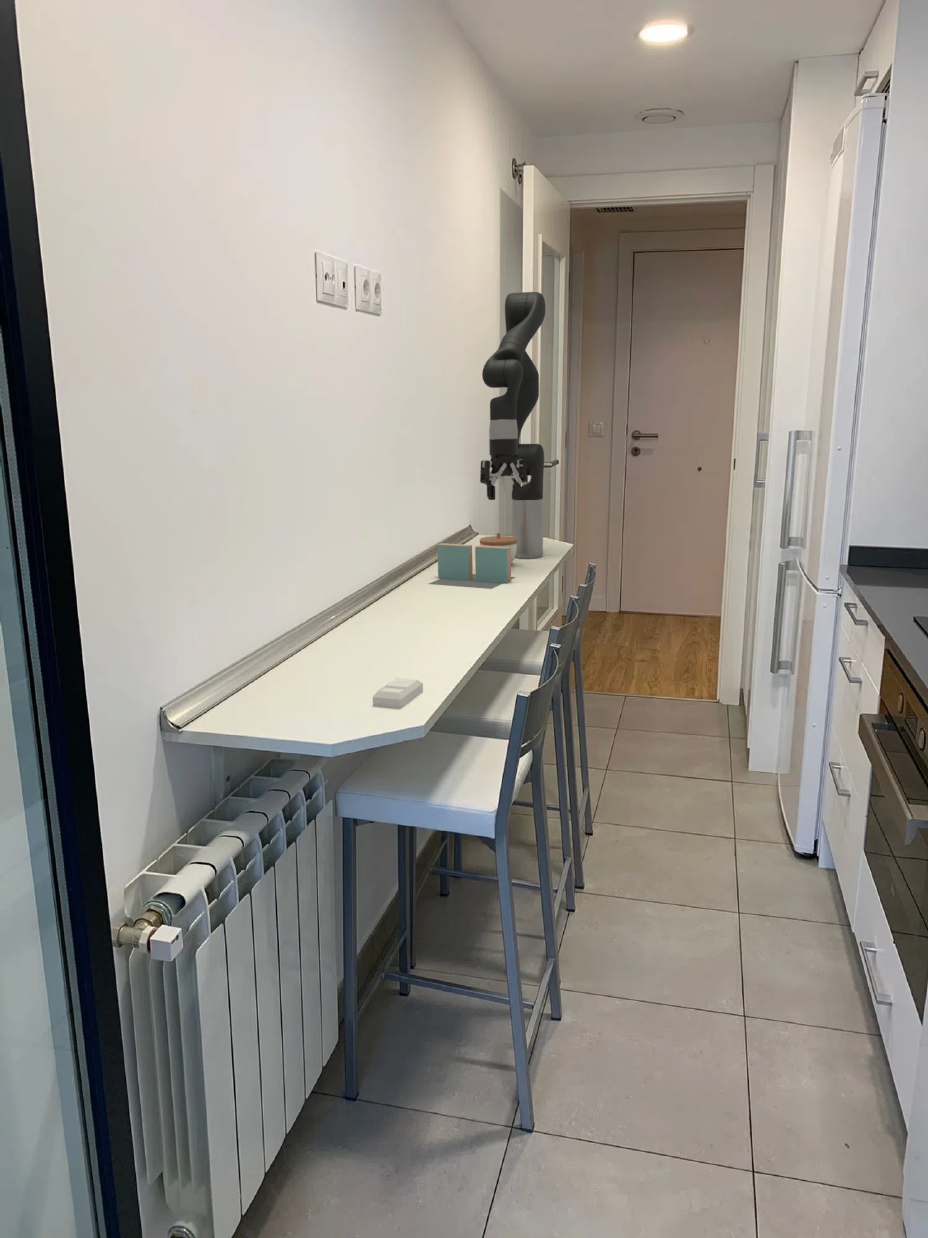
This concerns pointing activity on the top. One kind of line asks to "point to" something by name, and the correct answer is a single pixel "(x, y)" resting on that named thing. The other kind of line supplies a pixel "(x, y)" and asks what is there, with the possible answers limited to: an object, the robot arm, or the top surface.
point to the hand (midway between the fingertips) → (504, 498)
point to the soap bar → (398, 693)
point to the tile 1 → (455, 561)
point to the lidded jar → (501, 543)
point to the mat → (467, 583)
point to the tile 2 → (493, 564)
